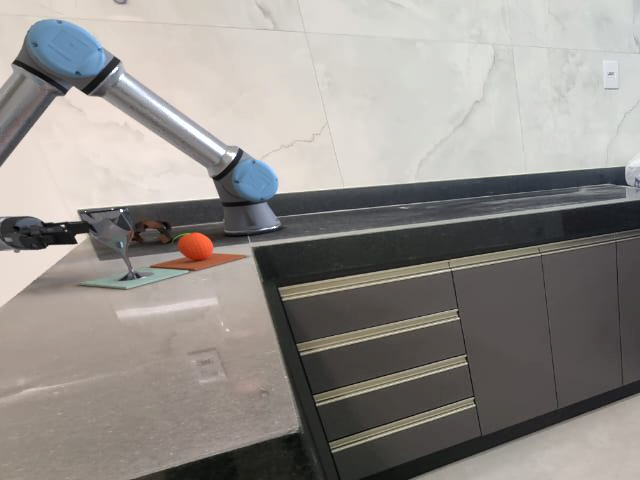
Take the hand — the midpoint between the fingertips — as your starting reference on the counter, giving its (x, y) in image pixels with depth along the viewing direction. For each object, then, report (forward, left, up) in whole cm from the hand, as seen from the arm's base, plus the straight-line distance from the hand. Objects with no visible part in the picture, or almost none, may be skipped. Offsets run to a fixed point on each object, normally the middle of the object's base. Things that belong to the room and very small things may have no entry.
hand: (104, 230), depth 118 cm
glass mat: (0, +2, -11) cm, 11 cm away
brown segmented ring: (-31, -40, -11) cm, 51 cm away
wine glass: (0, +2, -11) cm, 11 cm away
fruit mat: (-15, +2, -11) cm, 19 cm away
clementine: (-15, +2, -11) cm, 19 cm away
